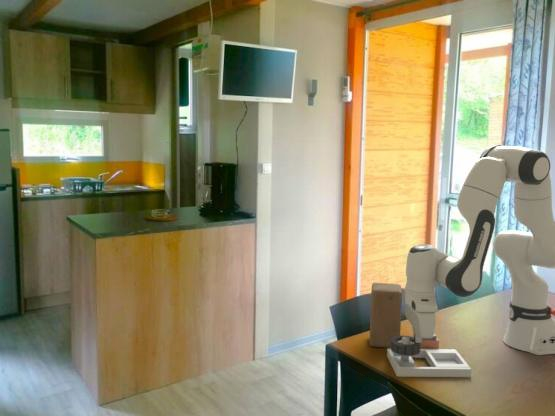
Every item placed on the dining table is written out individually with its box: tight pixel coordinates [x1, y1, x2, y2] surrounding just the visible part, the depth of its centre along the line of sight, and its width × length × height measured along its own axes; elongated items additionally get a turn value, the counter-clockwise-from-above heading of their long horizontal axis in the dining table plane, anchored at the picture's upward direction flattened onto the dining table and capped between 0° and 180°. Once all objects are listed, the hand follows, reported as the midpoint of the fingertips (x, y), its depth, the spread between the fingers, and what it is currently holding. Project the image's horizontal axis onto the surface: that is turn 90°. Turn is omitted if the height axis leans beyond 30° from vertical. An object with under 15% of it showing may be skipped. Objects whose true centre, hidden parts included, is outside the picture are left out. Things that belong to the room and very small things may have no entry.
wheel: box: [389, 335, 421, 356], centre depth 162 cm, size 9×9×3 cm
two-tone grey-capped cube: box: [421, 332, 440, 349], centre depth 173 cm, size 6×5×6 cm
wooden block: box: [369, 282, 403, 349], centre depth 179 cm, size 10×10×20 cm
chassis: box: [386, 337, 472, 378], centre depth 162 cm, size 22×14×9 cm, turn 90°
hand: (417, 341), depth 161 cm, fingers closed
